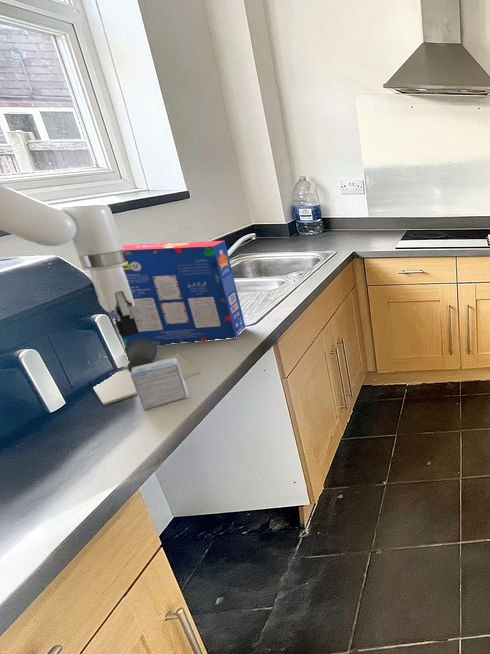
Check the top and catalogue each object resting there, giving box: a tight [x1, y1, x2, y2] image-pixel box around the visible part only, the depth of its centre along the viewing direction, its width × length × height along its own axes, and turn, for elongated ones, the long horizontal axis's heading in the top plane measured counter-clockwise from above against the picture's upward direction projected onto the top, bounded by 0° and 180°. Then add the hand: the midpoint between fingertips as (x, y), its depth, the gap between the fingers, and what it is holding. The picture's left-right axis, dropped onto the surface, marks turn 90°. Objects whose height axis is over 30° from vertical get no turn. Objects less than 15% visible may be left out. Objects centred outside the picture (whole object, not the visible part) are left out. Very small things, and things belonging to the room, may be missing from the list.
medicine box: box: [131, 358, 189, 411], centre depth 91 cm, size 8×4×9 cm, turn 130°
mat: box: [92, 353, 201, 406], centre depth 101 cm, size 18×16×1 cm
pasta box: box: [114, 240, 246, 348], centre depth 119 cm, size 28×8×28 cm, turn 103°
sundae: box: [124, 339, 159, 373], centre depth 106 cm, size 7×7×15 cm
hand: (129, 334), depth 99 cm, fingers closed
